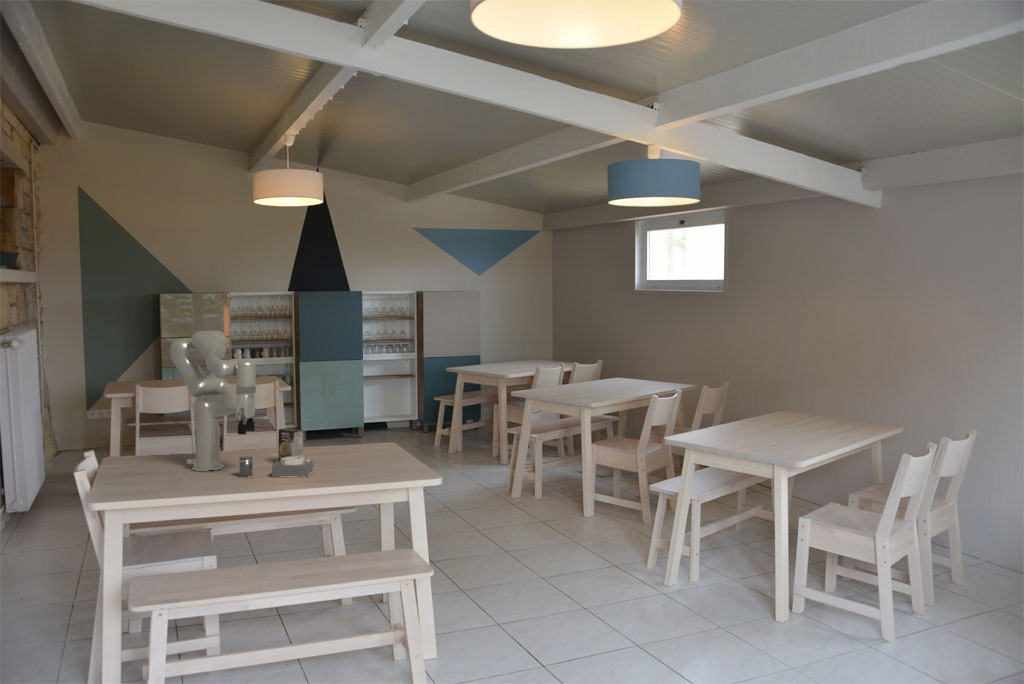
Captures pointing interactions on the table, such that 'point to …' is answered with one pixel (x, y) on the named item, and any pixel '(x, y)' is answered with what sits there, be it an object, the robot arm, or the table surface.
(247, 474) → the lens
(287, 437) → the coffee box
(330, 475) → the table surface
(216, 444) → the robot arm
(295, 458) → the camera body
